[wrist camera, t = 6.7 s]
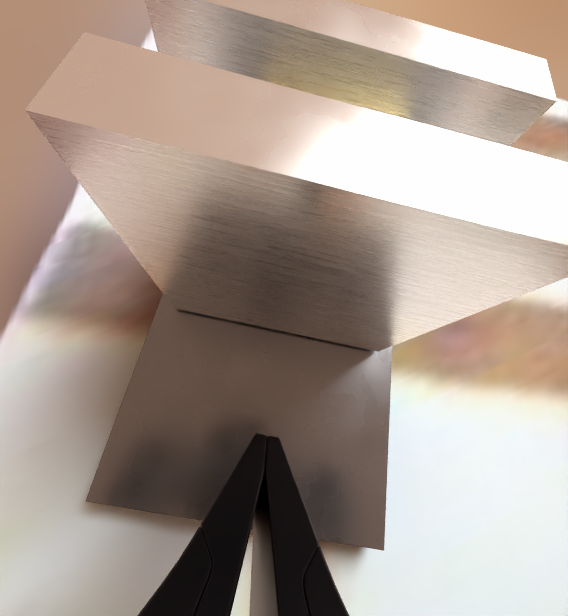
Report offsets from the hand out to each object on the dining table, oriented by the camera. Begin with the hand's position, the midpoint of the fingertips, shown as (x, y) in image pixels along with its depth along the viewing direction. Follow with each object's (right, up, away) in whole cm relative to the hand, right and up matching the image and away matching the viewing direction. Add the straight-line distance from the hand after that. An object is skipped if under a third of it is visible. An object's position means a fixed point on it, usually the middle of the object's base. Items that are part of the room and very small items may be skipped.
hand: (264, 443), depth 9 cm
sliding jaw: (+1, +4, +7) cm, 8 cm away
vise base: (0, +3, +8) cm, 9 cm away
